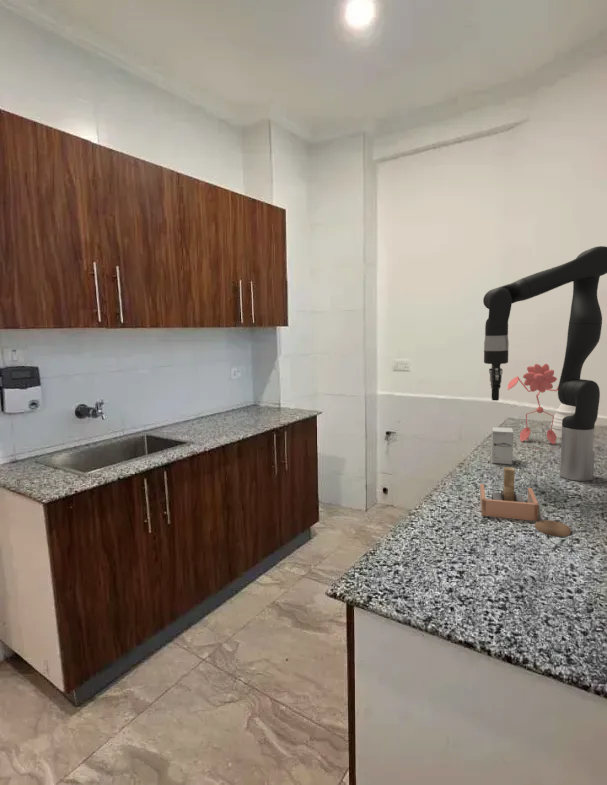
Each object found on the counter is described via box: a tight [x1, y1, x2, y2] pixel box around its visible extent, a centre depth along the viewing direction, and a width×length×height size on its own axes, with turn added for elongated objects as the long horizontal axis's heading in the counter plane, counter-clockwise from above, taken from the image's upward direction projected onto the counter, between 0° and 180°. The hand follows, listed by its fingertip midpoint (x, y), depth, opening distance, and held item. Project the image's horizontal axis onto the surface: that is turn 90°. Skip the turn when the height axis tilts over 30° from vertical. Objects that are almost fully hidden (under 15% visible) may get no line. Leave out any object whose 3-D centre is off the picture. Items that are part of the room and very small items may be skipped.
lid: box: [534, 519, 572, 537], centre depth 114 cm, size 8×8×1 cm
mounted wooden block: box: [491, 466, 525, 502], centre depth 127 cm, size 8×8×12 cm
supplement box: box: [490, 426, 514, 465], centre depth 170 cm, size 7×7×13 cm
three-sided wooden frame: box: [479, 483, 540, 522], centre depth 127 cm, size 14×13×4 cm
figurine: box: [507, 363, 561, 451], centre depth 190 cm, size 15×26×35 cm, turn 54°
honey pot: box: [550, 403, 576, 439], centre depth 205 cm, size 13×13×18 cm
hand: (495, 400), depth 152 cm, fingers closed
